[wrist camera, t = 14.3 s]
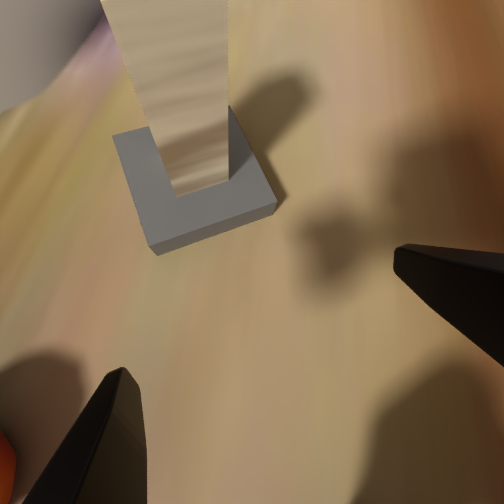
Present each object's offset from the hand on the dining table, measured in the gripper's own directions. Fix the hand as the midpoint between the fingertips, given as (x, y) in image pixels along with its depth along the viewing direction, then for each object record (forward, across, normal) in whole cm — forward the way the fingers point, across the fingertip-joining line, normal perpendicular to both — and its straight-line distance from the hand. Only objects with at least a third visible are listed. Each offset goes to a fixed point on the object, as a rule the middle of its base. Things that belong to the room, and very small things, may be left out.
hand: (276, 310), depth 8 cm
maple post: (+18, -1, -2) cm, 18 cm away
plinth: (+19, -1, 0) cm, 19 cm away
